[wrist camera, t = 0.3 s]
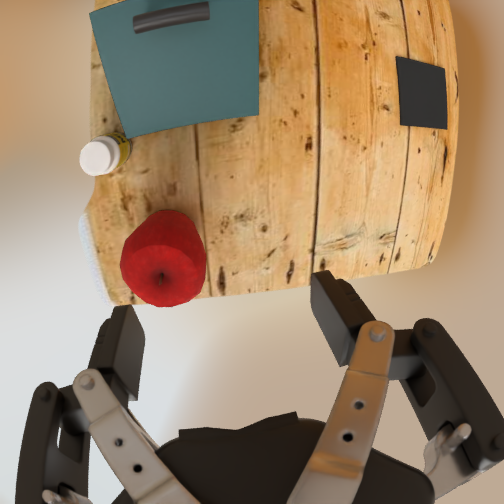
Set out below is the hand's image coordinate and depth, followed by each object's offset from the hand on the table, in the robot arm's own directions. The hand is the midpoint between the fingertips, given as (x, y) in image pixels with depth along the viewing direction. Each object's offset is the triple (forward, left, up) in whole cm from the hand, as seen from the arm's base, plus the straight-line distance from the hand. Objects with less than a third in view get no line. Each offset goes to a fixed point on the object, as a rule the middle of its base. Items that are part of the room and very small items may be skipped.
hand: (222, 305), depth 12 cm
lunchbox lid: (-14, -1, -20) cm, 25 cm away
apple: (+8, -7, -29) cm, 31 cm away
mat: (-11, +37, -29) cm, 48 cm away
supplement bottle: (-6, -12, -29) cm, 32 cm away
